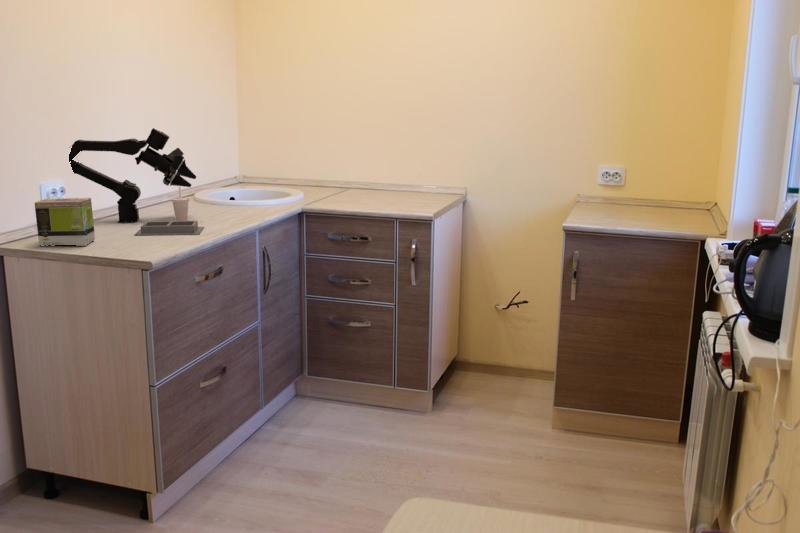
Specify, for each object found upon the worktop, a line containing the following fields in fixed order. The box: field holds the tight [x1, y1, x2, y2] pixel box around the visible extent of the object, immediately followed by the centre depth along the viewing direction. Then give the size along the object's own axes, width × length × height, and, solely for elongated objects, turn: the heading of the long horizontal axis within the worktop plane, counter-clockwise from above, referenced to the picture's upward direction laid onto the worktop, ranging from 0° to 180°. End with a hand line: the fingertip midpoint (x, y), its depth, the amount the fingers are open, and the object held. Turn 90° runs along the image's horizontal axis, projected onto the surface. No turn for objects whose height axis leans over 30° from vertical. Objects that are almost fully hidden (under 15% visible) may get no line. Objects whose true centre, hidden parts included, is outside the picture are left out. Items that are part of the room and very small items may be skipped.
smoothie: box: [171, 186, 190, 221], centre depth 293 cm, size 6×6×14 cm
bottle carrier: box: [134, 220, 205, 237], centre depth 280 cm, size 22×13×3 cm, turn 97°
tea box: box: [34, 197, 96, 247], centre depth 258 cm, size 15×10×15 cm, turn 92°
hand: (193, 182), depth 301 cm, fingers open, 9 cm apart
